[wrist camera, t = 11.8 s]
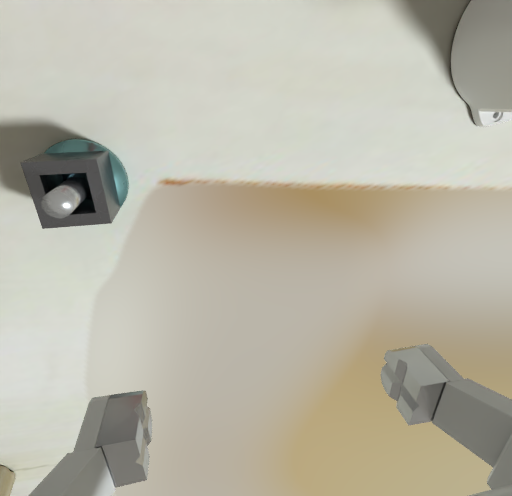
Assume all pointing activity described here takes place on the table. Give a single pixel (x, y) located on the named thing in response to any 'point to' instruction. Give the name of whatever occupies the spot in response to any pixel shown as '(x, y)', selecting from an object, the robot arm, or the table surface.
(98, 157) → the hollow grey cube
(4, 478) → the flower pot
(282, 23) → the table surface
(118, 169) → the teal mushroom knob
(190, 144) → the table surface
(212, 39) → the table surface
